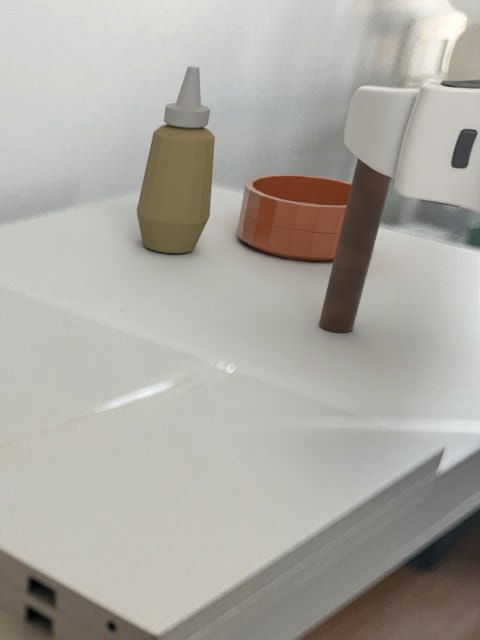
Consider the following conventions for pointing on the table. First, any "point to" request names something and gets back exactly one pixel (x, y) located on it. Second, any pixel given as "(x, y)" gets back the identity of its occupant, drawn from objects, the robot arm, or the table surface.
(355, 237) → the stirring stick
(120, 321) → the table surface
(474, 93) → the robot arm
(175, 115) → the squeeze bottle
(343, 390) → the table surface
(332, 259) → the bowl
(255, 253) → the table surface
